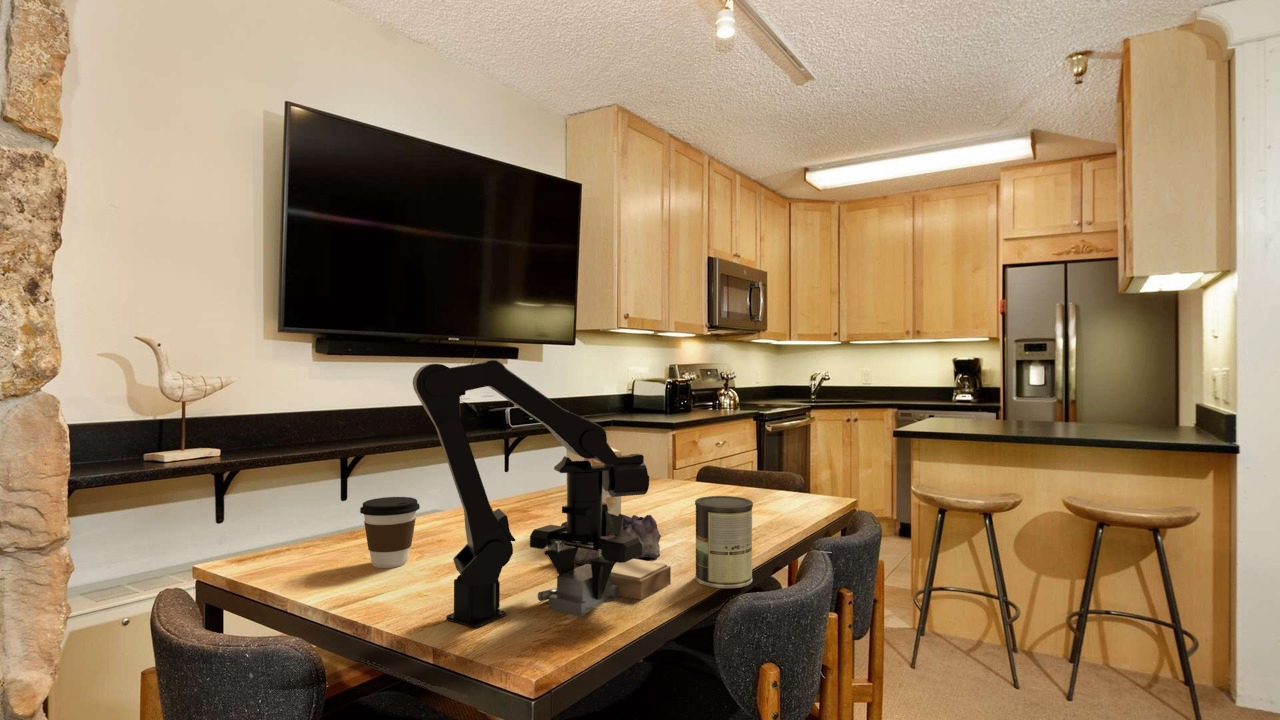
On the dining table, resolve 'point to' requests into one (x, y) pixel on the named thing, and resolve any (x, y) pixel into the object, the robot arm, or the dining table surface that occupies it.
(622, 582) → the stand
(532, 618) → the dining table surface
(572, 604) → the block
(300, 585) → the dining table surface
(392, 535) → the coffee cup
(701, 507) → the coffee can
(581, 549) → the geode
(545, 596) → the bolt
